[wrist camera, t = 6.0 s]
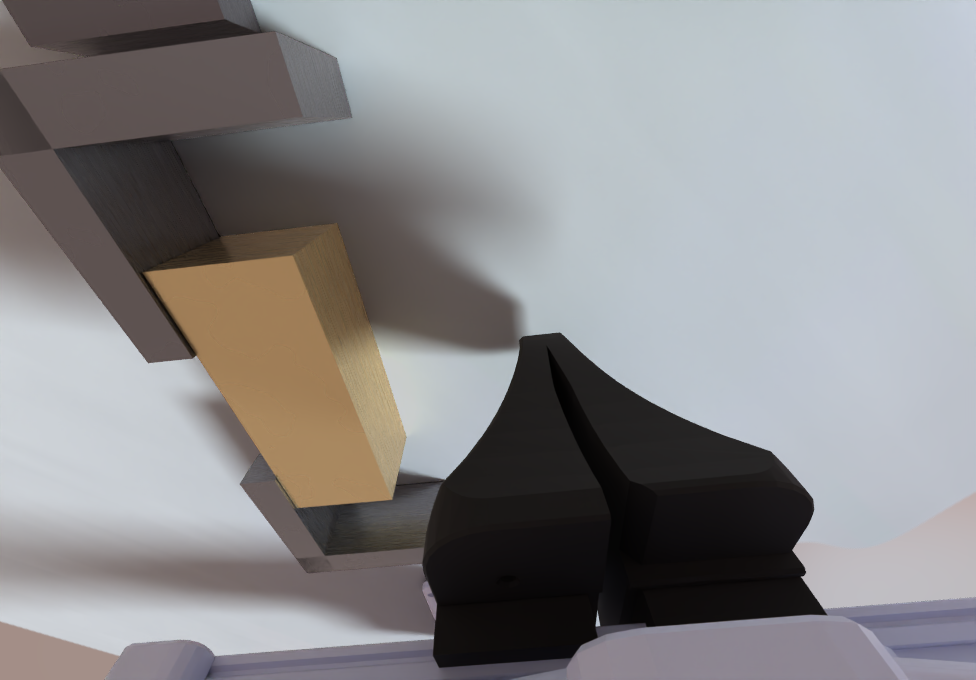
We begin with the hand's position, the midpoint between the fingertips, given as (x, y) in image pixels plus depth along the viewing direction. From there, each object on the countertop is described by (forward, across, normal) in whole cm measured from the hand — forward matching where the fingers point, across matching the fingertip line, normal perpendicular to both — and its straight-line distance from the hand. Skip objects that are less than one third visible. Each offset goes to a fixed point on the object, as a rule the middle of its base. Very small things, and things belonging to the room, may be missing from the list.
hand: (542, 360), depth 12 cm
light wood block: (+2, +8, 0) cm, 8 cm away
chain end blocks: (+1, +8, 0) cm, 8 cm away
